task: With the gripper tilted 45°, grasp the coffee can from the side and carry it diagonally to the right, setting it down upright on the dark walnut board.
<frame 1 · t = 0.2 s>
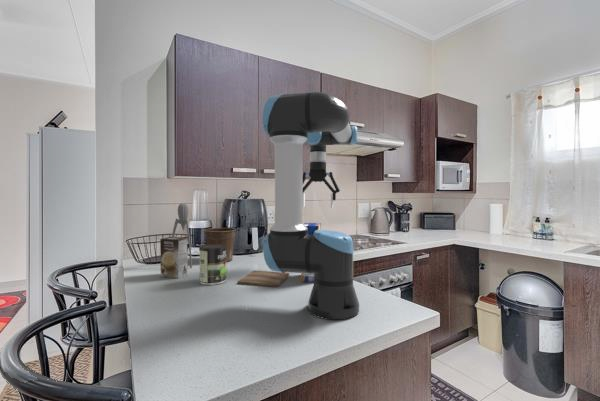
hand: (317, 207, 139), 28 cm above the countertop, tool pointing down, fingers open, 13 cm apart
walnut board: (264, 279, 120), on the countertop
citrus juicer: (185, 266, 141), on the countertop
beverage box: (311, 278, 122), on the countertop
plant pot: (220, 260, 154), on the countertop
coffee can: (213, 281, 118), on the countertop
coffee box: (174, 276, 126), on the countertop
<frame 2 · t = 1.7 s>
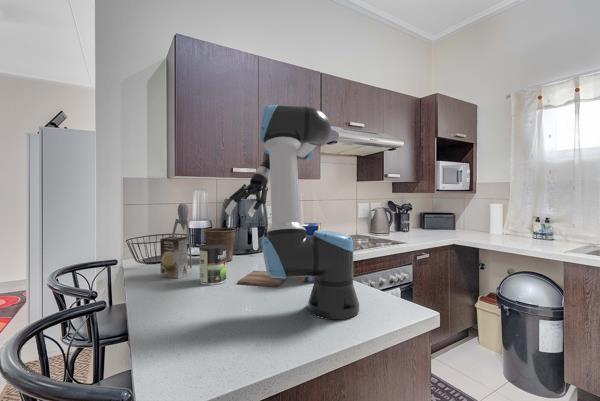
hand: (237, 214, 127), 26 cm above the countertop, tool tilted 45°, fingers open, 13 cm apart
nothing on the countertop moved.
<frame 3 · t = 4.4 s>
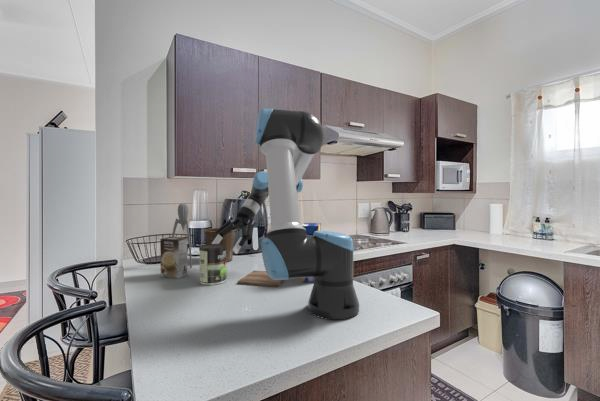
hand: (222, 250, 123), 11 cm above the countertop, tool tilted 45°, fingers open, 13 cm apart
nothing on the countertop moved.
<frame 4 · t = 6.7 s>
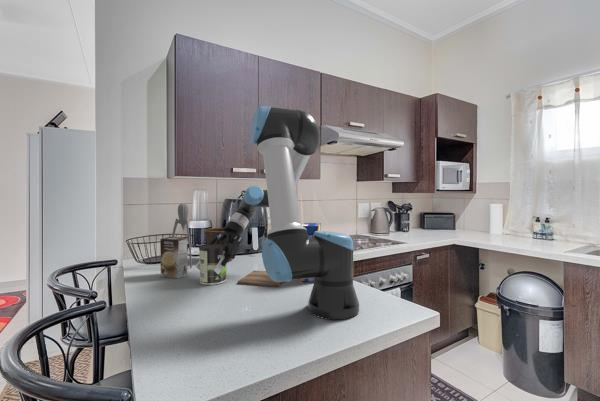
hand: (206, 270, 115), 5 cm above the countertop, tool tilted 45°, fingers closed on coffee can, 10 cm apart
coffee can: (213, 281, 118), on the countertop, touching gripper
everything else where it was.
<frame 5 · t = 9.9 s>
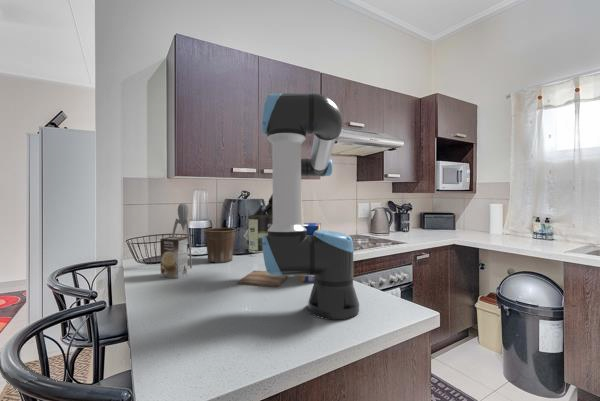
hand: (256, 239, 117), 17 cm above the countertop, tool tilted 45°, fingers closed on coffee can, 10 cm apart
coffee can: (261, 251, 120), point 12 cm above the countertop, touching gripper
everything else where it was.
when the fingers open (7 cm above the countertop, at t = 12.9 s): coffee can drops 1 cm, resting on walnut board.
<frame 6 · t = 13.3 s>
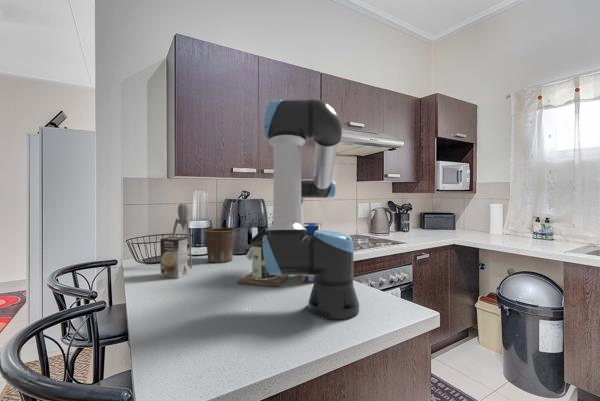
hand: (260, 260, 118), 8 cm above the countertop, tool tilted 45°, fingers open, 13 cm apart
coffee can: (264, 277, 120), point 1 cm above the countertop, touching walnut board
everything else where it was.
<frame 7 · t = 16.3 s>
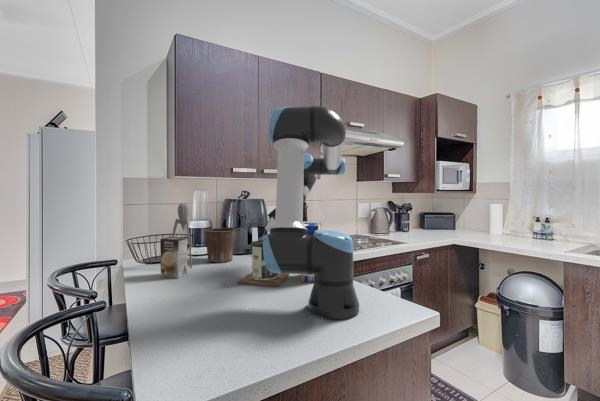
hand: (279, 231, 128), 18 cm above the countertop, tool tilted 45°, fingers open, 13 cm apart
nothing on the countertop moved.
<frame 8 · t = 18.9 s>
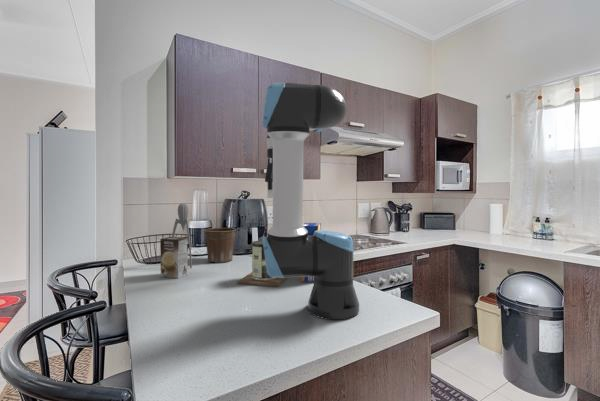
hand: (276, 197, 130), 33 cm above the countertop, tool pointing down, fingers open, 13 cm apart
nothing on the countertop moved.
at the end: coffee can inside the target area on the walnut board (0.1 cm from its centre), point 0.8 cm above the walnut board's base; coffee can tilted 0°; the gripper is holding nothing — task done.
